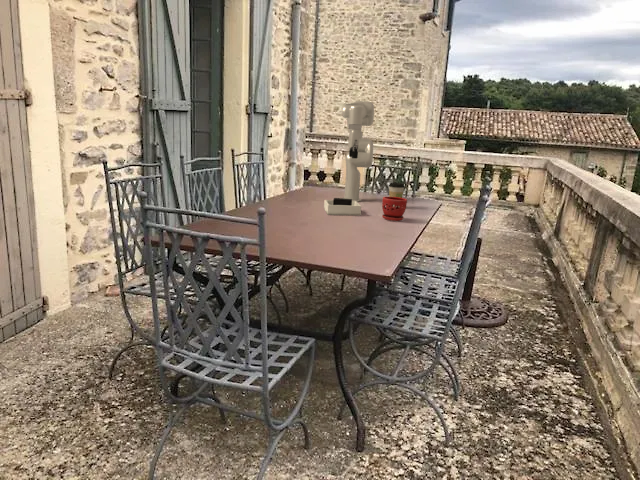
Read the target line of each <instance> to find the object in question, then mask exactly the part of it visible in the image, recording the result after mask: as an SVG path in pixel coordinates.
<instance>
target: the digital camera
mask: <svg viewBox="0 0 640 480" xmlns="http://www.w3.org/2000/svg"><path fill="white" fill-rule="evenodd" d="M332 200H333V205H349V206H352V199H344V197H334V198H333V199H332Z"/></svg>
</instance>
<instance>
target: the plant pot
mask: <svg viewBox="0 0 640 480" xmlns="http://www.w3.org/2000/svg"><path fill="white" fill-rule="evenodd" d="M381 203H382V204H381V205H382V212H383V214H382V218H383V219H384V220H387V221H390V222H399V221H402V220H403V219H404V216H403V215H405V213H406V212H405V211H406V210H407V205H408V204H407V203H408V199H407V198H405V197H402V198H399V197H389V196H383V197H382V202H381ZM393 205H394V207H393ZM396 206H397V207H396ZM398 206H399V207H398Z"/></svg>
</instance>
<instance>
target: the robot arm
mask: <svg viewBox="0 0 640 480" xmlns="http://www.w3.org/2000/svg"><path fill="white" fill-rule="evenodd" d="M341 108H342V109H341V115H342V118H343V119H346V123H347V128H348V134H349V135H348V144H347V146H348V150H349V151H348V152H347V153H346V154H345V180H344V181H345V183H344V196H343V198H344V199H352V201H356V202H357V203H359V202H361V201H362V198H360V189H361V188H360V187H361V185H360V184H361V172H360V170H359V169H358V168H371V167H372V165H373V160H374V141H373V140H372V139H370V138H363V137H364V136H363V135H364V134H363V131H362V128H363V127H364V126H365V127H369V126H372V125H373V124H374V121H375V119H374V117H375V105H374V103H373V102H372V101H368V100H367V101H365V100H356V101H354V102H352V103H351V102H350V103H345V104H343V106H342V107H341ZM362 126H363V127H362Z"/></svg>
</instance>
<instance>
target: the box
mask: <svg viewBox="0 0 640 480" xmlns="http://www.w3.org/2000/svg"><path fill="white" fill-rule="evenodd" d="M323 201H324V202H323V210H324V211H326V212H325V213H326V214H327V216H353V217H354V216H355V217H358V216H360V217H361V214H362V205H361V204H360V203H359V202H356V201H352V206H349V205H333V199H329V200H328V199H324V200H323Z"/></svg>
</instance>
